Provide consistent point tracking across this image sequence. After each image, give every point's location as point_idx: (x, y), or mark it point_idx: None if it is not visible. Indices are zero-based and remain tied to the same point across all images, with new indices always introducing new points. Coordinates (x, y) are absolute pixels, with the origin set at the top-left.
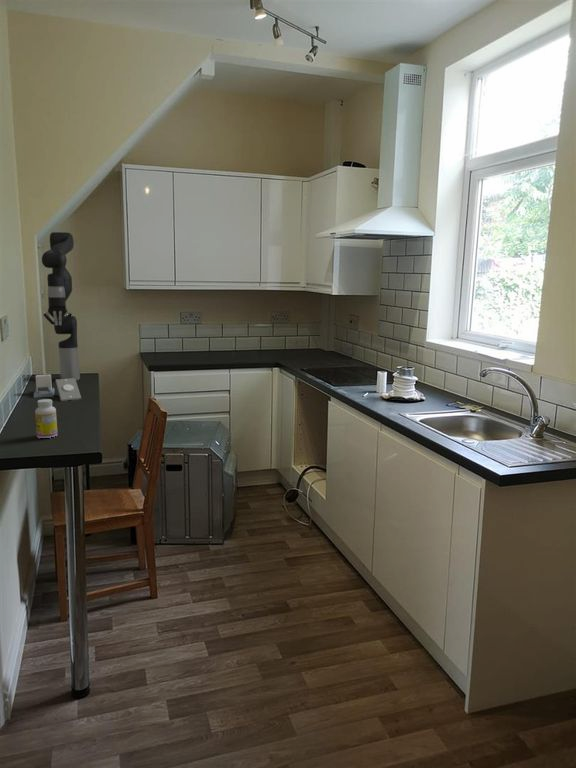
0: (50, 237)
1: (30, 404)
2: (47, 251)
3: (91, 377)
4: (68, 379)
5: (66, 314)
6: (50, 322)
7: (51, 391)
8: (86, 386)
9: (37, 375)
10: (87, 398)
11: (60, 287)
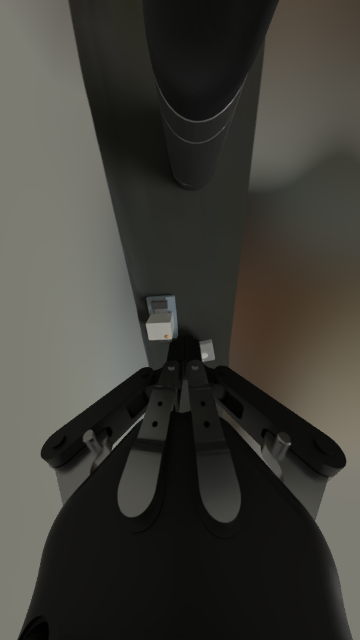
0: None
1: (160, 367)
2: None
3: (252, 104)
4: (201, 346)
5: (269, 465)
6: (140, 399)
7: (174, 325)
8: (226, 263)
9: (148, 329)
10: (222, 352)
11: None
